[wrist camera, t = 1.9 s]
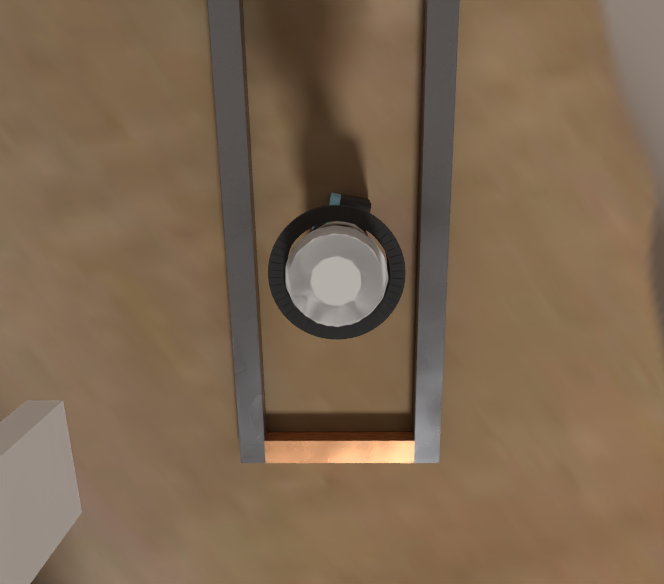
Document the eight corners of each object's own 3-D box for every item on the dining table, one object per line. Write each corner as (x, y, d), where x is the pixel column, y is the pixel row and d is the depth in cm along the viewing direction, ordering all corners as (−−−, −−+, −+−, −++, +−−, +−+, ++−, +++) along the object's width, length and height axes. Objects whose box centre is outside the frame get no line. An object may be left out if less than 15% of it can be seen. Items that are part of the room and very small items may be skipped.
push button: (371, 312, 30) (383, 391, 20) (280, 295, 30) (249, 366, 20) (396, 198, 28) (423, 224, 19) (300, 179, 28) (276, 195, 18)
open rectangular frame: (244, 453, 33) (241, 462, 32) (208, -56, 25) (203, -64, 24) (436, 453, 32) (438, 462, 31) (458, -63, 25) (462, -72, 24)
